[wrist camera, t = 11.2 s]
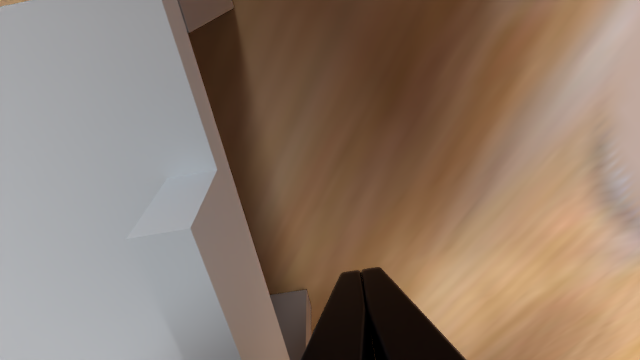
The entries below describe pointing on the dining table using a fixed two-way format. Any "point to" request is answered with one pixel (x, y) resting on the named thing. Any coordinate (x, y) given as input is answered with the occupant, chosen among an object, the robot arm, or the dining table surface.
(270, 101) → the dining table surface
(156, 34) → the lid
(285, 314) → the housing
